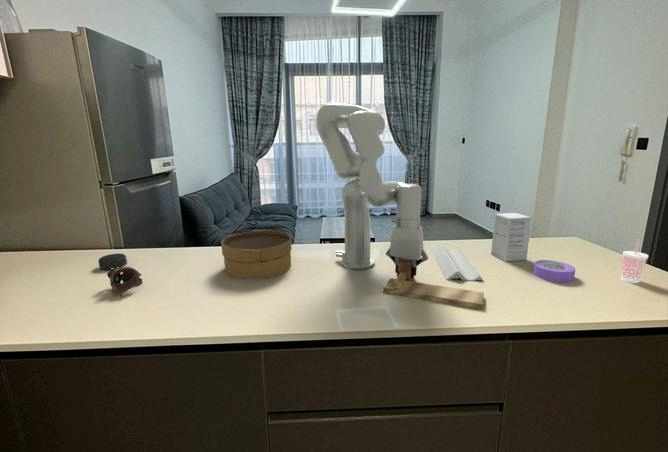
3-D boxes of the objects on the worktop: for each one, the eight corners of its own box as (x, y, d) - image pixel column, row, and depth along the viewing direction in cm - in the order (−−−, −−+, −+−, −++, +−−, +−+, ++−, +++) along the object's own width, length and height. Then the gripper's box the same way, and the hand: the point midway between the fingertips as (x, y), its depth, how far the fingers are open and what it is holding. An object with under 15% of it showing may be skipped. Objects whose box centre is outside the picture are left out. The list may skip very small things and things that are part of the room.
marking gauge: (389, 293, 102) (390, 272, 100) (401, 275, 116) (402, 255, 114) (402, 295, 101) (403, 274, 99) (413, 276, 114) (414, 257, 112)
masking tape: (528, 268, 121) (529, 258, 120) (564, 270, 118) (566, 260, 117) (540, 281, 110) (541, 270, 109) (580, 284, 107) (582, 273, 106)
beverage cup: (638, 278, 111) (647, 237, 107) (645, 285, 105) (655, 242, 102) (615, 275, 113) (623, 235, 110) (621, 282, 108) (629, 240, 104)
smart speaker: (117, 270, 124) (116, 260, 123) (94, 270, 124) (92, 260, 123) (132, 262, 133) (130, 252, 132) (110, 262, 133) (108, 253, 132)
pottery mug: (152, 284, 113) (146, 268, 107) (132, 307, 106) (124, 291, 100) (120, 273, 114) (113, 257, 108) (99, 295, 107) (89, 279, 102)
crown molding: (482, 282, 110) (483, 272, 109) (444, 281, 112) (445, 271, 111) (459, 252, 140) (460, 244, 139) (430, 251, 142) (430, 243, 141)
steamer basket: (272, 284, 110) (270, 251, 108) (209, 276, 118) (205, 245, 116) (303, 259, 133) (301, 232, 130) (248, 255, 141) (246, 228, 138)
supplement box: (527, 260, 128) (533, 217, 124) (505, 262, 127) (510, 218, 123) (510, 252, 138) (515, 212, 134) (490, 253, 136) (494, 213, 132)
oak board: (383, 292, 103) (383, 287, 103) (390, 282, 110) (390, 278, 110) (482, 309, 92) (483, 304, 91) (483, 297, 99) (483, 292, 98)
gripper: (379, 223, 108) (378, 276, 112) (432, 227, 101) (429, 284, 105) (385, 218, 114) (384, 268, 119) (436, 222, 108) (433, 275, 112)
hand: (405, 275), depth 112 cm, fingers closed on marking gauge, 4 cm apart
